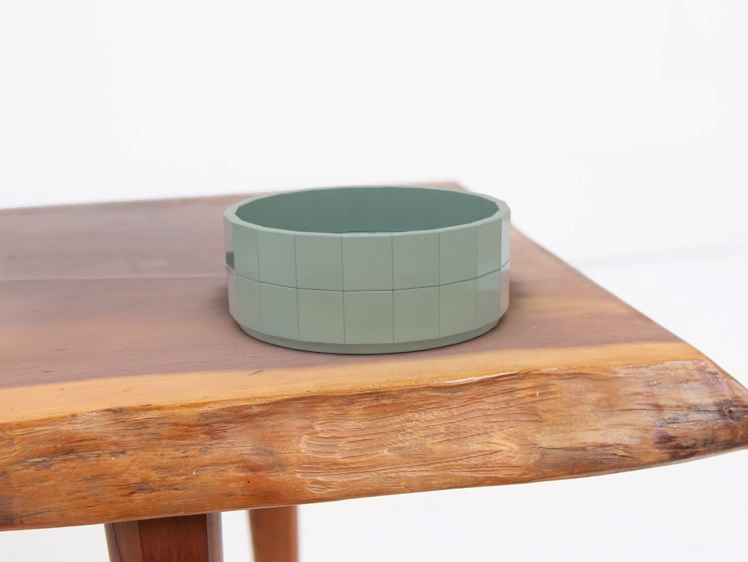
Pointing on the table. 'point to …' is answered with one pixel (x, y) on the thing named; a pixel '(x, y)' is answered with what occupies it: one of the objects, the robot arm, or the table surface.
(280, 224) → the bowl
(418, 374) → the table surface
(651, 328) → the table surface
